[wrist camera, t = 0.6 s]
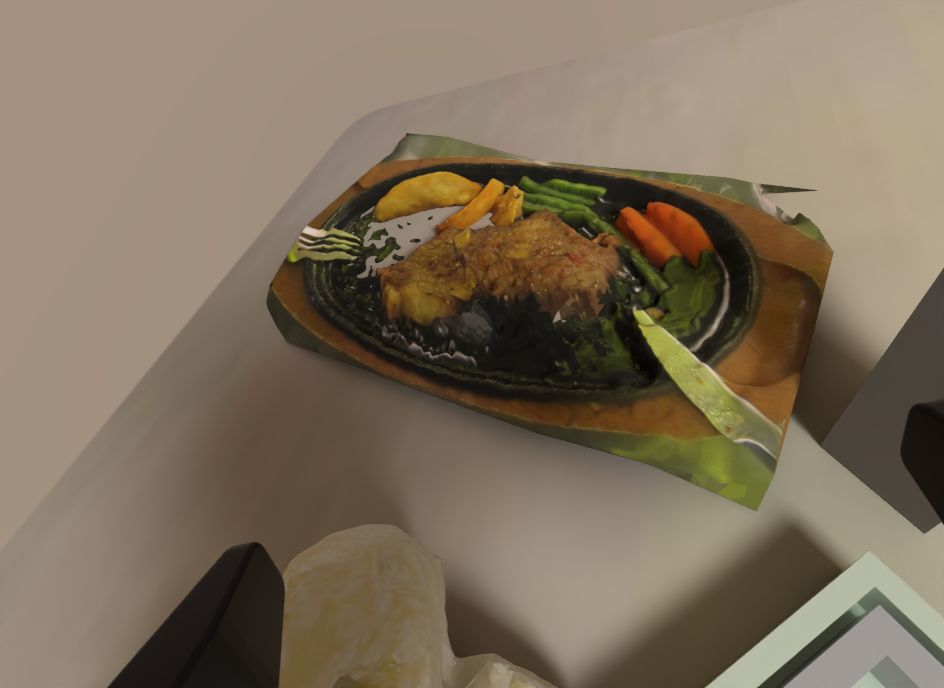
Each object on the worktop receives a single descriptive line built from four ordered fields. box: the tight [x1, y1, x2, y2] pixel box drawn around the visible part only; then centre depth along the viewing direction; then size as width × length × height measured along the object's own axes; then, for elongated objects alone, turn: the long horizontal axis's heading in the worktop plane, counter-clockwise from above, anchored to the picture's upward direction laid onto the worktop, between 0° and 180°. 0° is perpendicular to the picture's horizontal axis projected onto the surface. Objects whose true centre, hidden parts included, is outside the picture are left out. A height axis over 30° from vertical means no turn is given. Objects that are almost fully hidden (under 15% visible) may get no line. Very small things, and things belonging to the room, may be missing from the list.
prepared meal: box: [267, 133, 833, 511], centre depth 31 cm, size 28×4×18 cm
